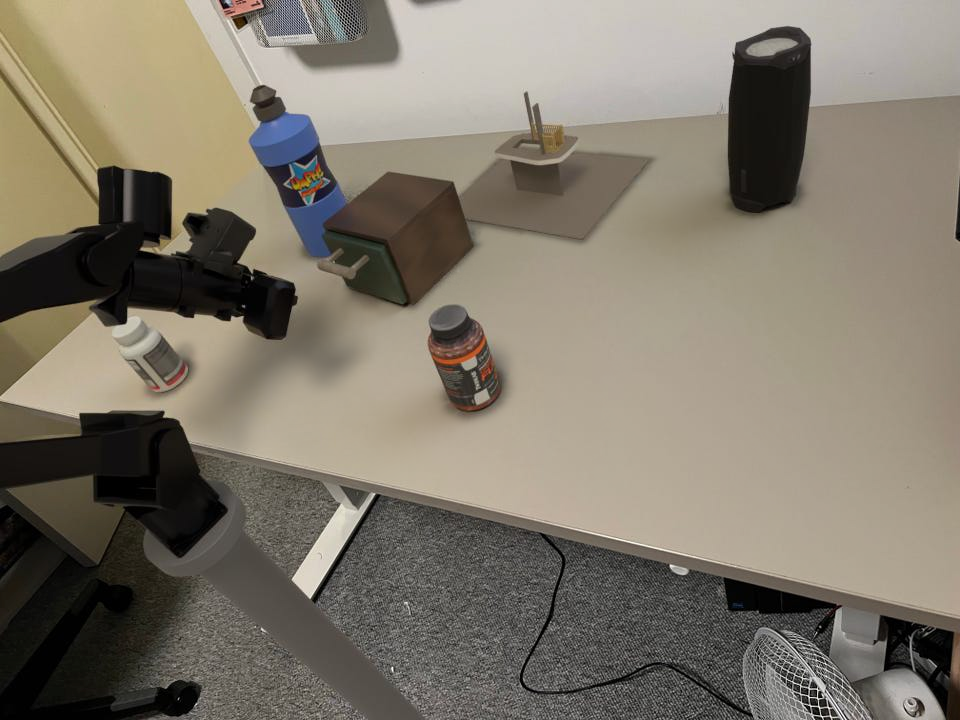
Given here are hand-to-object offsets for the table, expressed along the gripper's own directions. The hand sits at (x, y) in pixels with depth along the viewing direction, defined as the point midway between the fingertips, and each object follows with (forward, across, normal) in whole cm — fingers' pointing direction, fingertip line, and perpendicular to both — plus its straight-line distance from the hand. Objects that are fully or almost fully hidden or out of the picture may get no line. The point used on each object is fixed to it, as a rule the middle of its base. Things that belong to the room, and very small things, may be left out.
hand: (295, 299), depth 76 cm
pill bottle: (-3, +18, +16) cm, 25 cm away
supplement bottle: (+8, -24, +4) cm, 25 cm away
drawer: (+16, +1, -5) cm, 17 cm away
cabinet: (+19, +1, -7) cm, 20 cm away
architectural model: (+36, -7, -23) cm, 43 cm away
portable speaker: (+39, -38, -27) cm, 61 cm away
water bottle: (+20, +20, -7) cm, 29 cm away
